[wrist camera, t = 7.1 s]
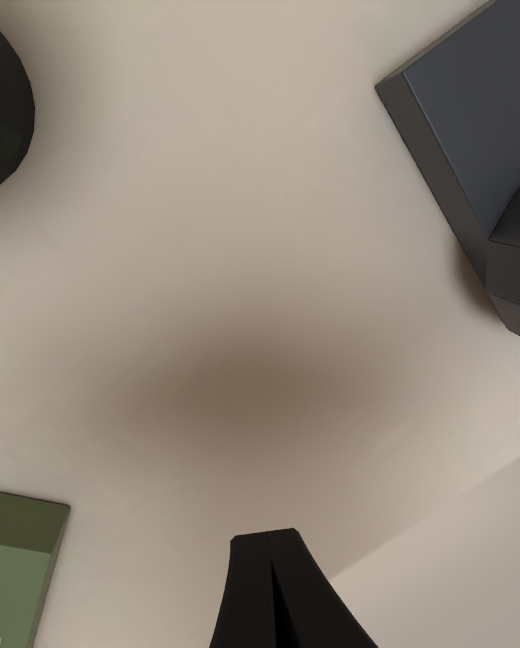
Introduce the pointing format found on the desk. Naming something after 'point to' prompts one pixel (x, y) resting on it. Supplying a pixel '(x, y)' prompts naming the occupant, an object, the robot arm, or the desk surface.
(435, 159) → the power block
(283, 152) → the desk surface
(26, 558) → the panel
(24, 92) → the cup
